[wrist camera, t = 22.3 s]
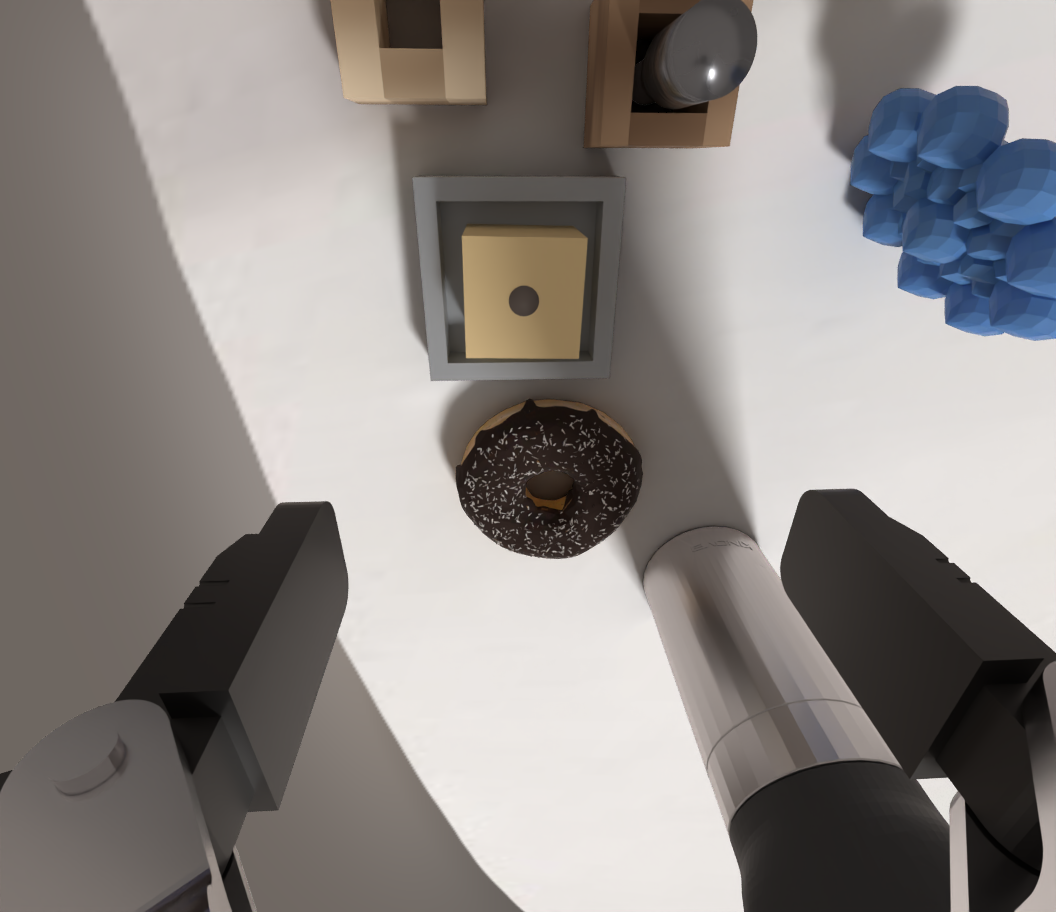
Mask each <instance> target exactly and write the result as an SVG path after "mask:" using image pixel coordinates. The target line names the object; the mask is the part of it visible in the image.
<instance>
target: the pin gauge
mask: <svg viewBox="0 0 1056 912" xmlns="http://www.w3.org/2000/svg"><path fill="white" fill-rule="evenodd" d="M756 47H757V29H756V24H755V20H754V18H753V15H752V13H751V11H750V10H749V8H748V7H747V6H746V5H745V3H744V2H742V1H741V0H701V1H699V2H698V3H697V4H695V5H694V6H693V7H691V8H690V9H689V10H687V11H686V12H685V13H683V14H682V15H681V16H680V17H678V18H677V19H676V20H674V21H673V22H672V23H670V24H669V25H668V26H666V27H665V28H664V29H663V30H661V31H660V32H659V33H658V34H657V35H656V36H655V37H654V39H653V40H652V42H651V43H650V45H649V47H648V49H647V52H646V55H645V58H644V59H643V60H642V61H640V62H639V63H637V64H636V65H635V68H634V80H633V92H632V100H633V101H634V102H636V103H637V104H639V105H649V104H652V103H656V104H658V105H659V106H661V107H664V108H667V109H680V108H684V107H688V106H692V105H696V104H699V103H703V102H707V101H711V100H714V99H718V98H721V97H723V96H725V95H727V94H729V93H730V92H732V91H733V90H734V89H735V88H736V87H737V86H738V85H739V84H740V83H741V82H742V81H743V79H744V78H745V77H746V75H747V73H748V72H749V70H750V68H751V65H752V63H753V60H754V57H755V53H756Z"/></svg>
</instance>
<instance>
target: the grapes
mask: <svg viewBox="0 0 1056 912" xmlns="http://www.w3.org/2000/svg"><path fill="white" fill-rule="evenodd" d="M1008 127H1009V108H1008V104H1007V100H1006V99H1004V98H1003V97H1001V96H1000V95H999V94H997V93H995V92H992V91H990V90H987V89H984V88H982V87H979V86H955V87H953V88H951V89H948V90H946V91H944V92H942V93H940V94H938V95H935V94H933V93H930V92H927V91H925V90H922V89H919V88H900V89H898V90H896V91H894V92H892V93H890V94H888V95H886V96H884V97H883V98H882V99H881V101H880V102H879V104H878V105H877V106H876V108H875V109H874V110H873V113H872V117H871V121H870V124H869V129H868V135H867V136H864V137H863V139H862V140H861V141H860V143H859V144H858V145H857V147H856V148H855V150H854V154H853V158H852V162H851V178H850V185H852V186H854V187H856V188H858V189H860V190H863V191H865V192H868V193H870V194H874V195H873V196H872V197H871V198H870V199H869V201H868V202H867V204H866V208H865V211H864V215H863V237H865V238H868V239H870V240H872V241H875V242H877V243H880V244H882V245H887V246H894V247H900V246H902V247H903V251H904V252H903V253H902V254H901V258H900V261H899V264H898V277H897V280H898V288H900V289H902V290H904V291H907V292H909V293H912V294H914V295H917V296H920V297H925V298H930V299H937V298H942V297H946V298H945V323H946V324H948V325H950V326H952V327H955V328H957V329H960V330H962V331H965V332H968V333H972V334H977V335H981V336H990V335H999V334H1003V333H1004V332H1005V333H1007V334H1010V335H1012V336H1015V337H1020V338H1025V339H1029V340H1034V341H1036V340H1046V339H1056V143H1055V142H1052V141H1050V140H1046V139H1024V138H1022V139H1019V140H1016V141H1014V142H1011V143H1008V142H1006V141H1005V140H1004V138H1005V135H1006V132H1007V130H1008Z"/></svg>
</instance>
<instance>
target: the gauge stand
mask: <svg viewBox="0 0 1056 912" xmlns="http://www.w3.org/2000/svg"><path fill="white" fill-rule="evenodd" d="M330 2H331V9H332V16H333V23H334V31H335V38H336V45H337V52H338V59H339V67H340V74H341V81H342V88H343V96H344V98H346V99H349V100H351V101H354V102H356V103H358V104H419V105H487V100H486V66H485V31H484V0H440V11H441V28H442V44H443V49H410V48H390V39H389V29H388V19H387V9H386V0H330Z"/></svg>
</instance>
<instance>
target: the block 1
mask: <svg viewBox="0 0 1056 912" xmlns="http://www.w3.org/2000/svg"><path fill="white" fill-rule="evenodd" d="M587 242H588V238H587V237H586V236H584V235H583V234H582V233H581V232H580V231H579V230H577V229H576V228H575V227H574V226H554V225H506V224H467V226H466V228H465V230H464V232H463V235H462V254H463V283H464V313H465V342H466V358H528V359H579V350H580V336H581V323H582V309H583V296H584V282H585V269H586V255H587Z"/></svg>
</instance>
